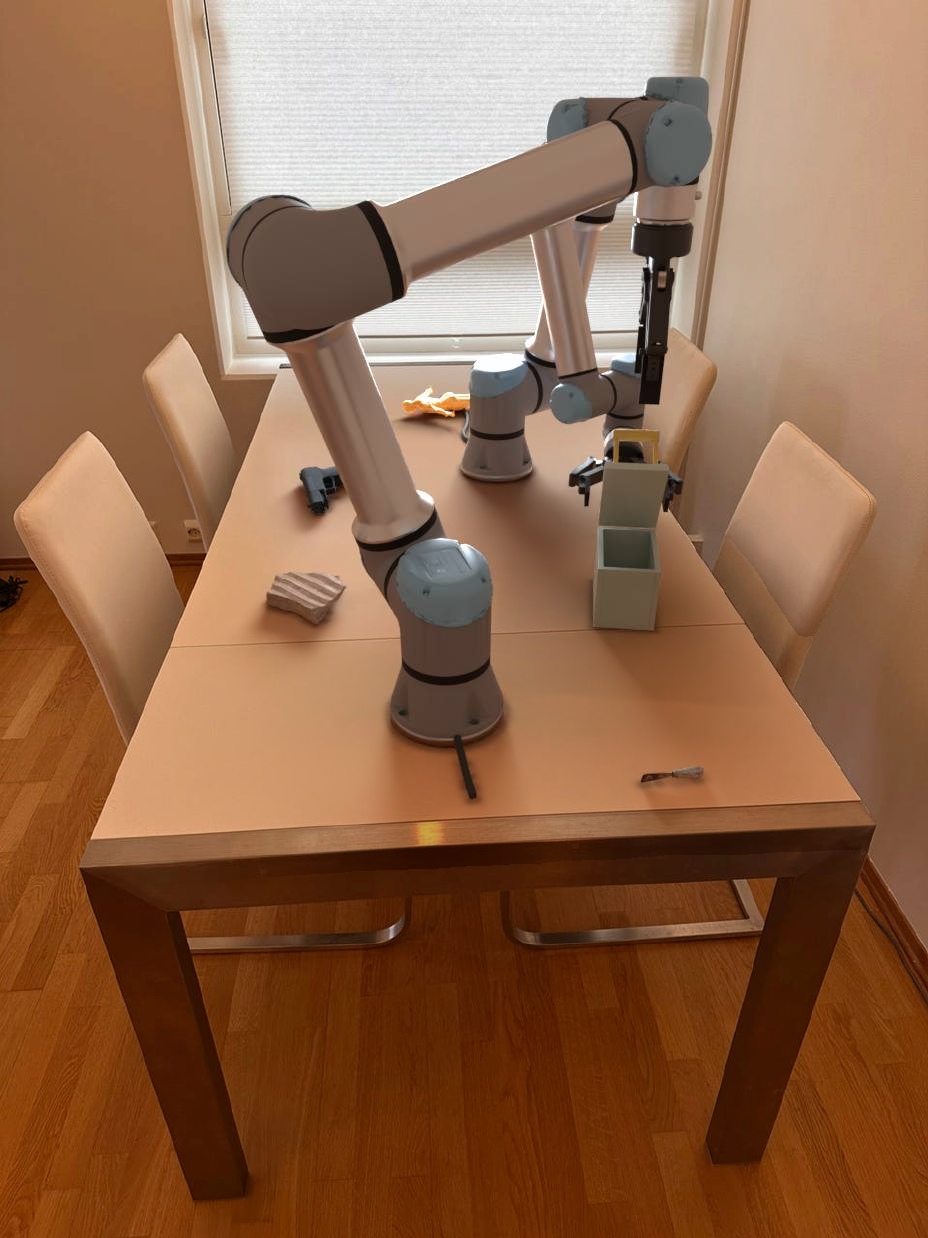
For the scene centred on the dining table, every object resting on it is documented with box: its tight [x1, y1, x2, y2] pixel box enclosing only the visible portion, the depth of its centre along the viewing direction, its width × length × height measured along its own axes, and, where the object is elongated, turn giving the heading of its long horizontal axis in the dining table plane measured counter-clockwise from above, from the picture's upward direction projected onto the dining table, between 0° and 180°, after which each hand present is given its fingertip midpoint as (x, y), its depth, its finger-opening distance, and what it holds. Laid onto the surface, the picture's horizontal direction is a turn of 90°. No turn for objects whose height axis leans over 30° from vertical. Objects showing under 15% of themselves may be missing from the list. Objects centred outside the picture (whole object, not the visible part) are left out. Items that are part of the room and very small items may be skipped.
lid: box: [597, 429, 670, 529], centre depth 140 cm, size 15×9×9 cm
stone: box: [265, 571, 347, 625], centre depth 145 cm, size 13×12×2 cm
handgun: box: [298, 465, 344, 515], centre depth 181 cm, size 3×18×12 cm
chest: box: [592, 525, 662, 632], centre depth 142 cm, size 14×9×10 cm, turn 173°
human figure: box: [402, 385, 470, 418], centre depth 225 cm, size 20×20×4 cm
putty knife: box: [640, 765, 705, 784], centre depth 109 cm, size 1×8×2 cm, turn 103°
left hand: (646, 387), depth 123 cm, fingers open, 13 cm apart
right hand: (626, 502), depth 154 cm, fingers open, 13 cm apart
